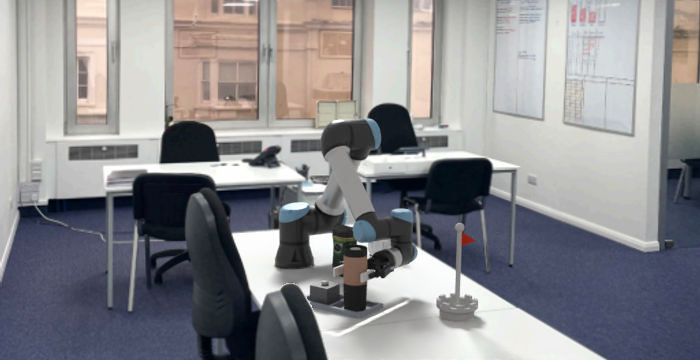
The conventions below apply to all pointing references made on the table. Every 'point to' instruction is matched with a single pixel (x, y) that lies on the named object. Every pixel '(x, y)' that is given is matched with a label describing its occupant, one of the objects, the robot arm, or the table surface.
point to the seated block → (325, 292)
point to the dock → (339, 308)
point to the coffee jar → (341, 243)
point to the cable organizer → (378, 245)
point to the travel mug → (354, 277)
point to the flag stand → (458, 289)
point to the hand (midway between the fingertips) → (347, 275)
